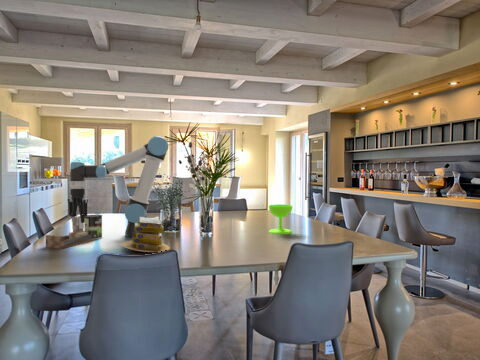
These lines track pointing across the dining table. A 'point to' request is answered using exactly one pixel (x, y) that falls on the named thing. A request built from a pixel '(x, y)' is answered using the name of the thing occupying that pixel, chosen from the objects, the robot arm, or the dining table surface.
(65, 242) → the press bed
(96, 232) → the coffee can
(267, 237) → the dining table surface
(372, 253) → the dining table surface
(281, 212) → the wineglass
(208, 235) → the dining table surface
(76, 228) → the press ram
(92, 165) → the robot arm
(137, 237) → the stacked food plate
